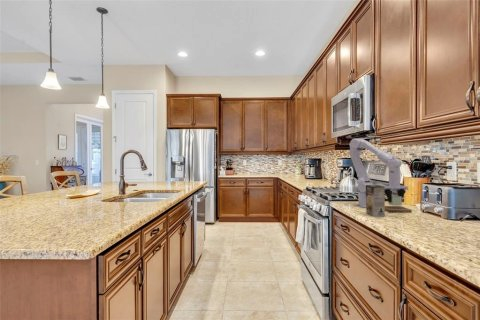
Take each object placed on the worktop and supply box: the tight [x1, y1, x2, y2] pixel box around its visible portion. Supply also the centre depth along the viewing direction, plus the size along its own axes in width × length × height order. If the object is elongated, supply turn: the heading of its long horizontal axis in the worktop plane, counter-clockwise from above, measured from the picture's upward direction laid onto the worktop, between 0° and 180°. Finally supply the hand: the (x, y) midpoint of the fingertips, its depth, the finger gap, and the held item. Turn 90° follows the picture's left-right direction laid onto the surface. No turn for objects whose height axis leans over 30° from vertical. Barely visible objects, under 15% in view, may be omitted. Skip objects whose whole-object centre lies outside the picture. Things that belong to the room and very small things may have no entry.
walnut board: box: [385, 205, 413, 214], centre depth 153 cm, size 12×12×2 cm
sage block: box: [388, 194, 403, 206], centre depth 153 cm, size 5×5×5 cm
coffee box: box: [365, 184, 386, 217], centre depth 143 cm, size 9×6×16 cm
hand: (394, 202), depth 153 cm, fingers closed on sage block, 5 cm apart
